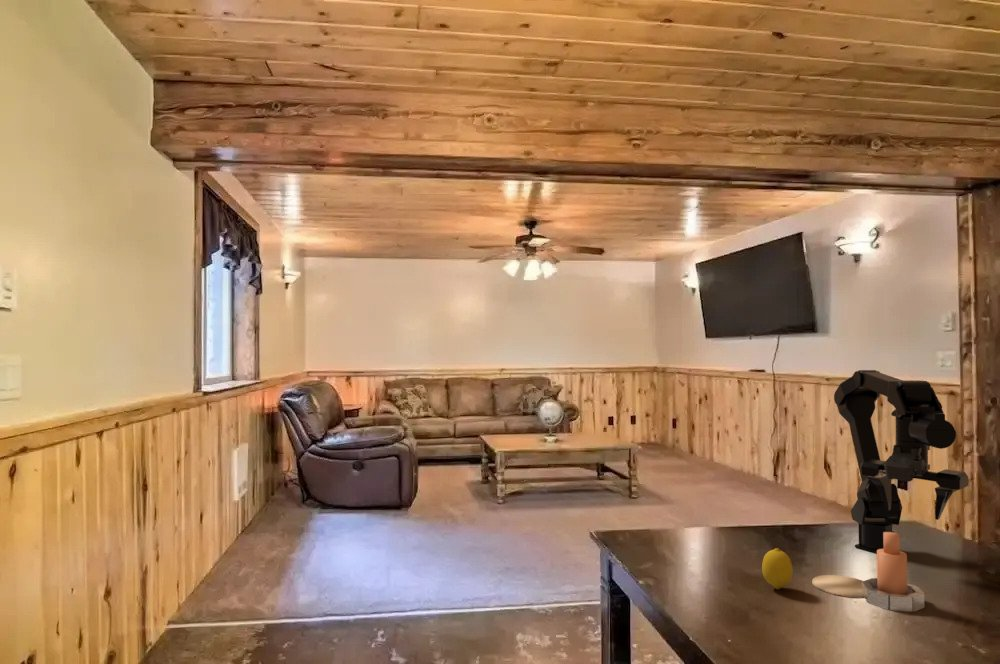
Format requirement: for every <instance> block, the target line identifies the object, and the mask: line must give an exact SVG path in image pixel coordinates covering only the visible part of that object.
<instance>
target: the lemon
mask: <svg viewBox="0 0 1000 664" xmlns="http://www.w3.org/2000/svg"><path fill="white" fill-rule="evenodd" d="M761 564H762V565H761V571H762V575H763V578H764V579H765V580H766V582H767V583H768V584H769V585H771V586H773V588H775V590H780V589H782V588H783V587H785V586H788V584H790V582H791V580H792V578H793V573H794V572H793V571H794V570H793V564H792V561H791V558H790V557H789V555H788V554H786V552H784V551H783V550H781V549H780V548H778V547H776V548H774V549H771V550H768V551H767V552H766V553H765V554H764V556H763V559H762V563H761Z"/></svg>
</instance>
